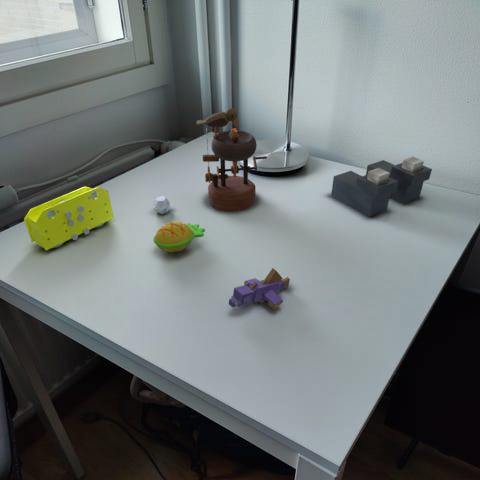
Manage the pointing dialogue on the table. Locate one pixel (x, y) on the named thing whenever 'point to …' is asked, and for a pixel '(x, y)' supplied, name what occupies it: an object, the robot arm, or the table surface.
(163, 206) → the game die
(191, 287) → the table surface
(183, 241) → the toy pineapple
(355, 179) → the high key block
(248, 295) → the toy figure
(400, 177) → the low key block
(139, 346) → the table surface
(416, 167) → the low key
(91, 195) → the yellow toy chassis
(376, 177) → the high key
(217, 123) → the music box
